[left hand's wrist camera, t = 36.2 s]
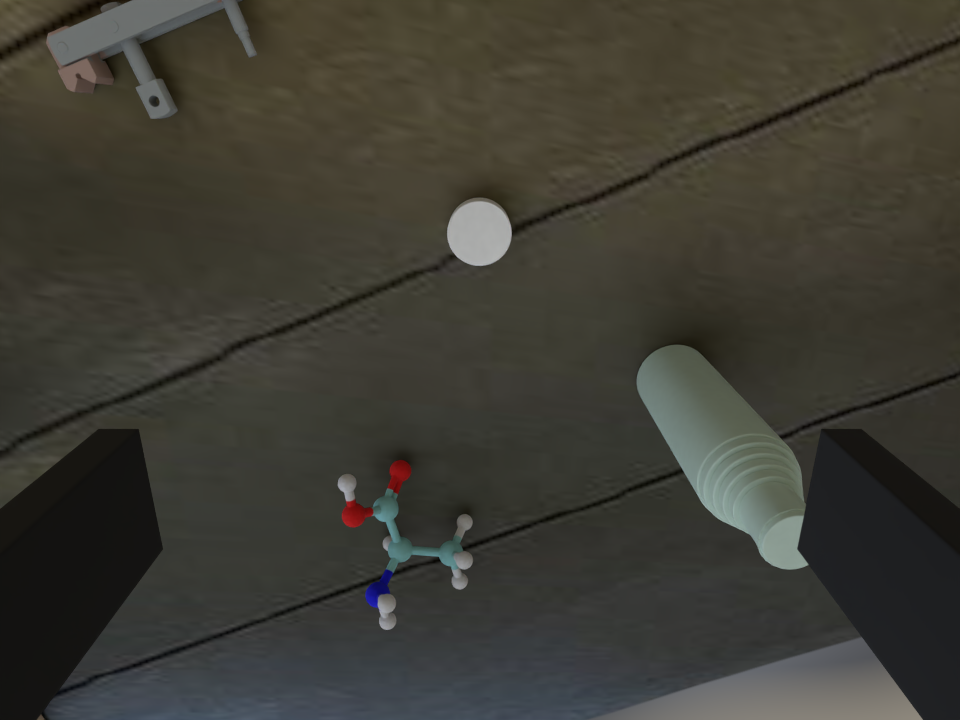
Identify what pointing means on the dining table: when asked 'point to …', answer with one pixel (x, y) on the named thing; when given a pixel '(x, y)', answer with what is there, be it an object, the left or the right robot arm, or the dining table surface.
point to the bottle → (726, 451)
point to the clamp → (132, 44)
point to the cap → (479, 231)
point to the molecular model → (401, 540)
